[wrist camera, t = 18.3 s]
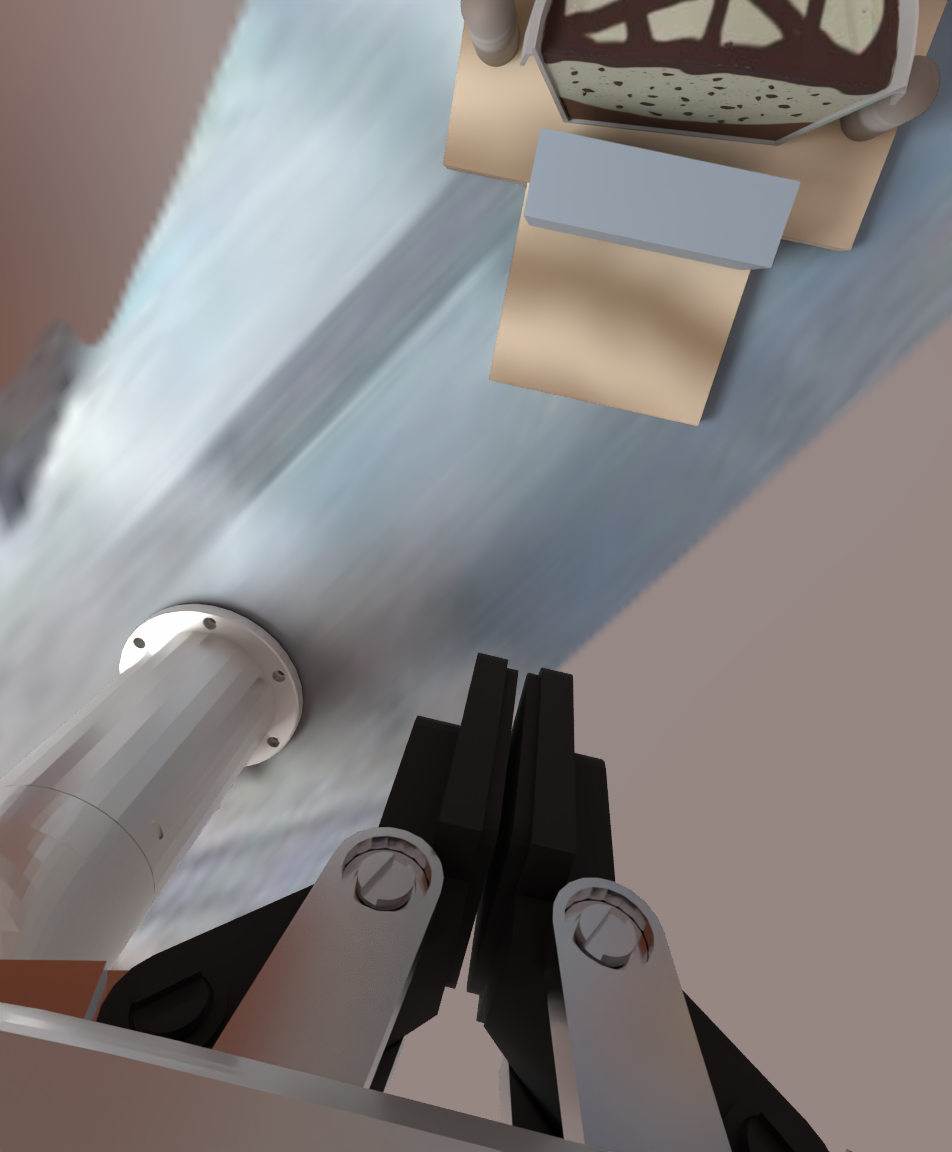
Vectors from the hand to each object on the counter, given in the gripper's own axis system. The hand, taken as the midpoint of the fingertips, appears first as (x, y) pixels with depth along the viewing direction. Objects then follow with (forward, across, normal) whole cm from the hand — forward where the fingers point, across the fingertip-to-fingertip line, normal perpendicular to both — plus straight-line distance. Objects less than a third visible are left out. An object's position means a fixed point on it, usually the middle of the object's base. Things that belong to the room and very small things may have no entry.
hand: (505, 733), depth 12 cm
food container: (+26, -2, -17) cm, 31 cm away
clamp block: (+26, -2, -11) cm, 28 cm away
